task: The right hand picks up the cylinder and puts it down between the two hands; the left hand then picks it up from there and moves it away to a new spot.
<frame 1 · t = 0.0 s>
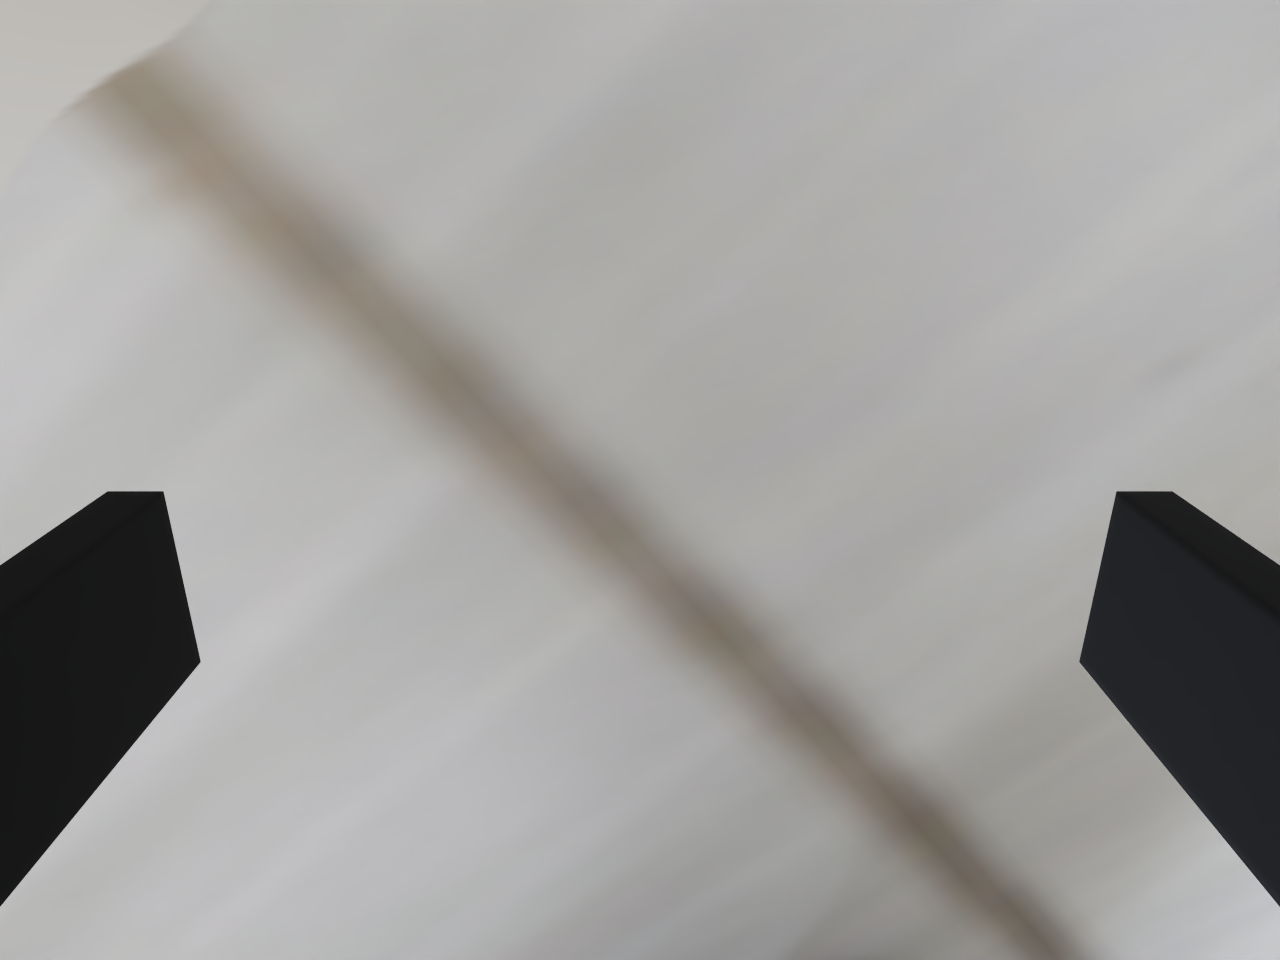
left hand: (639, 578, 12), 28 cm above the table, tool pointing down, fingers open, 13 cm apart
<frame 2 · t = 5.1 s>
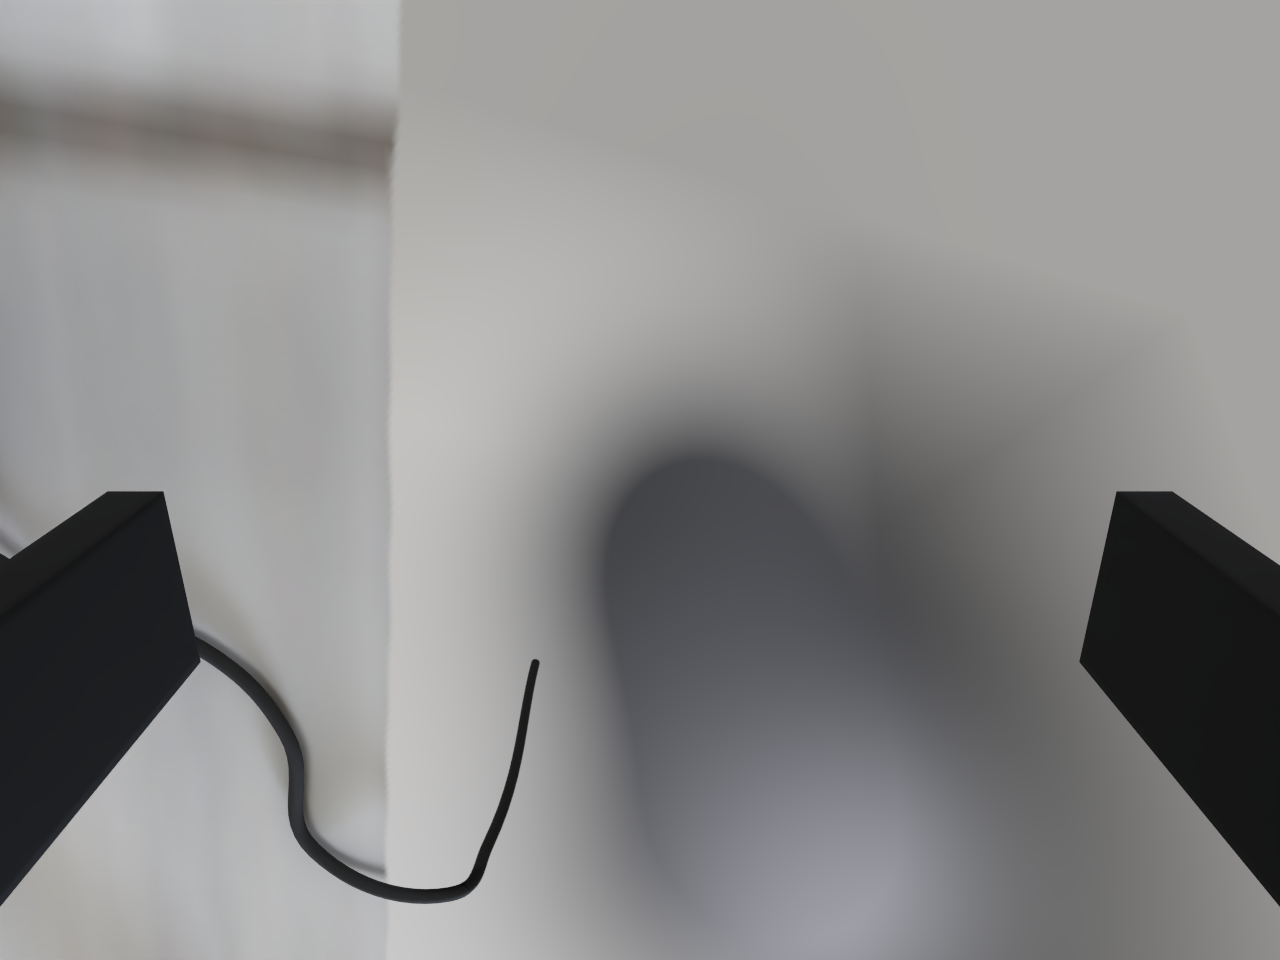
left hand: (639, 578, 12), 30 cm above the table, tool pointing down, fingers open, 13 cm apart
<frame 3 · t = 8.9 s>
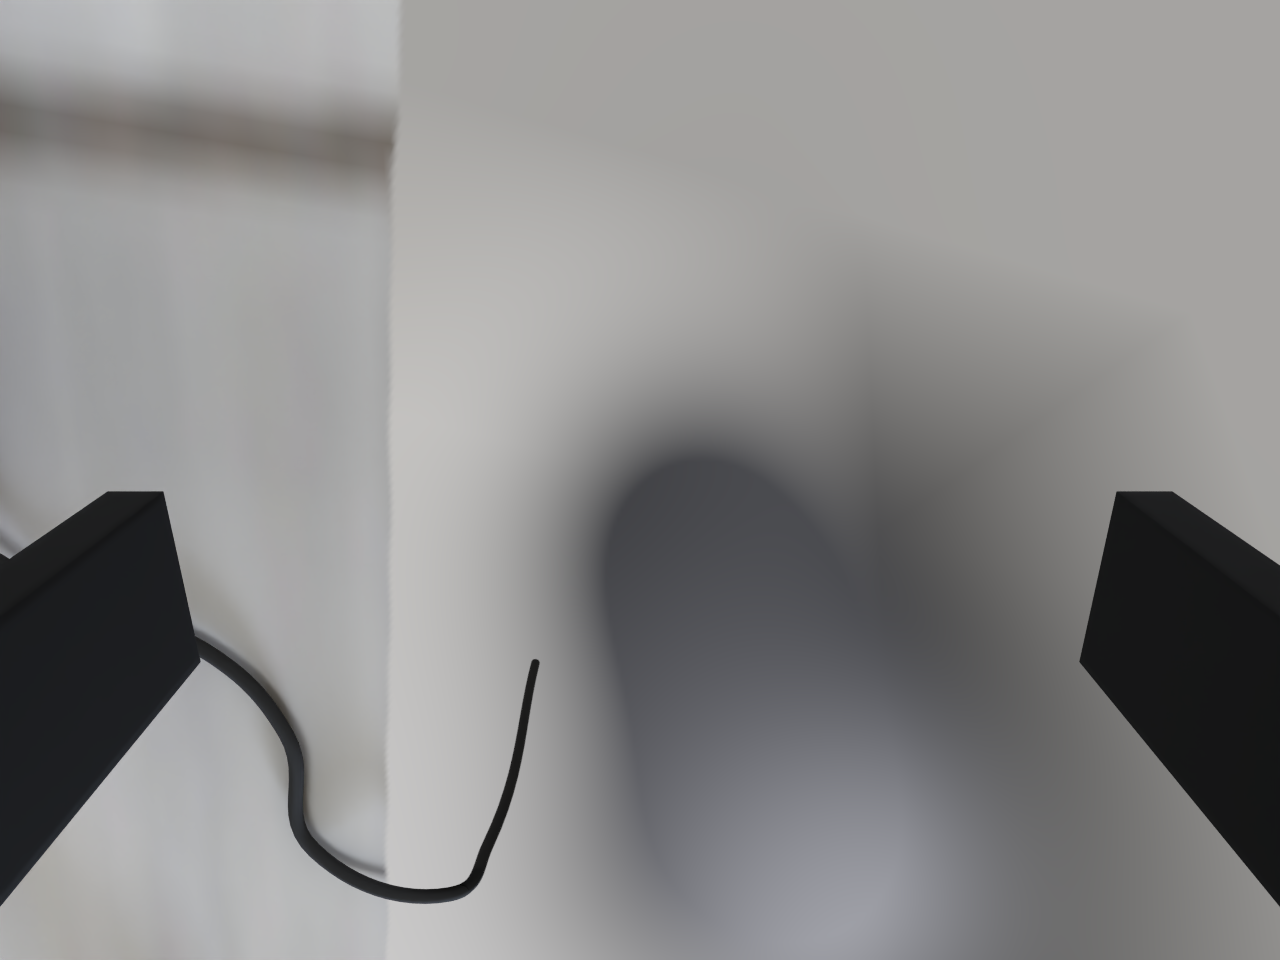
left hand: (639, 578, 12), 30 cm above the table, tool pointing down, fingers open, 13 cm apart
when the right hand's fingers open (7 cm above the table, at t = 12.8 s): cylinder drops 1 cm, on the table.
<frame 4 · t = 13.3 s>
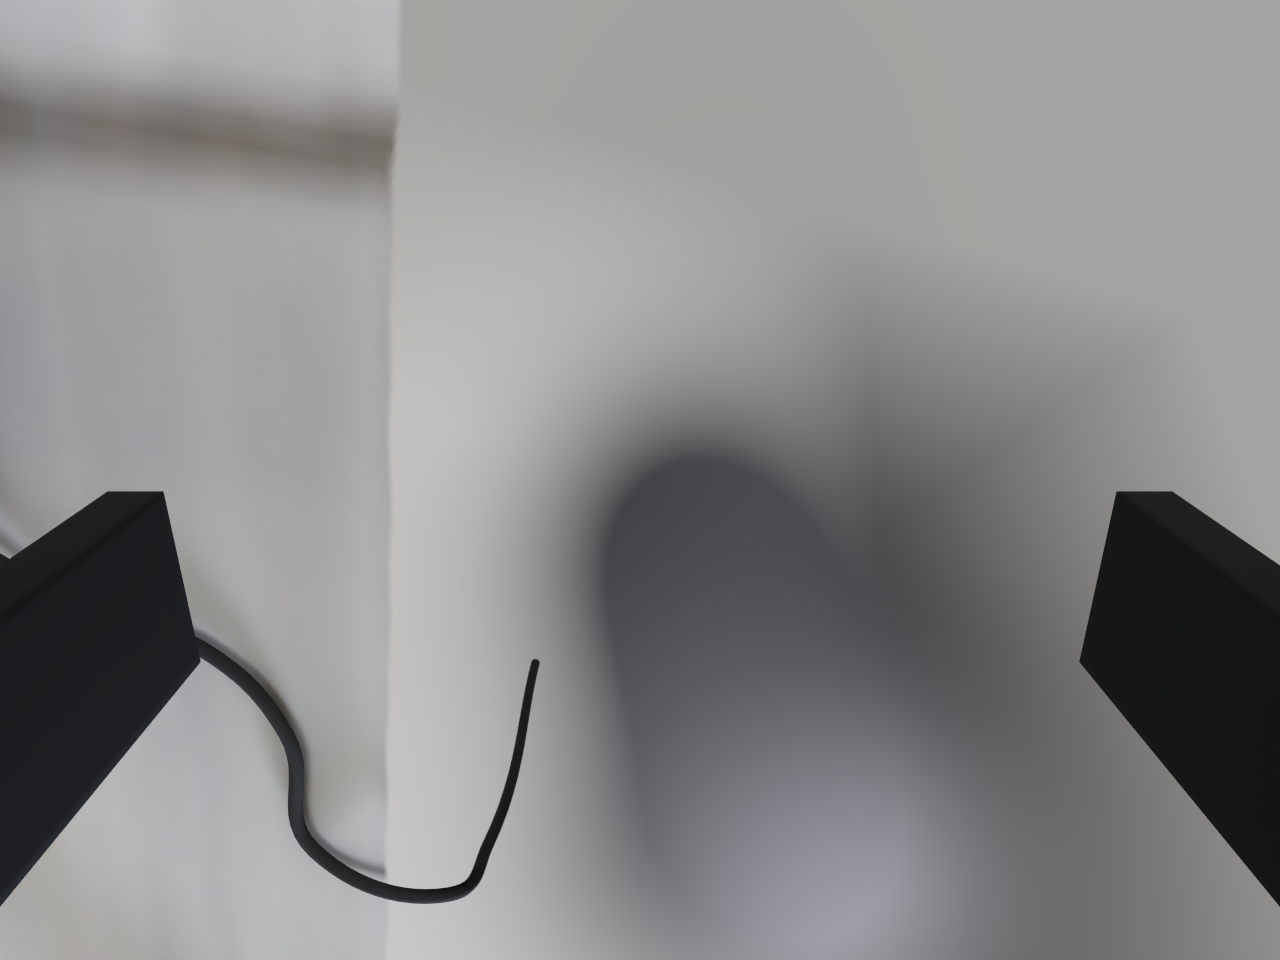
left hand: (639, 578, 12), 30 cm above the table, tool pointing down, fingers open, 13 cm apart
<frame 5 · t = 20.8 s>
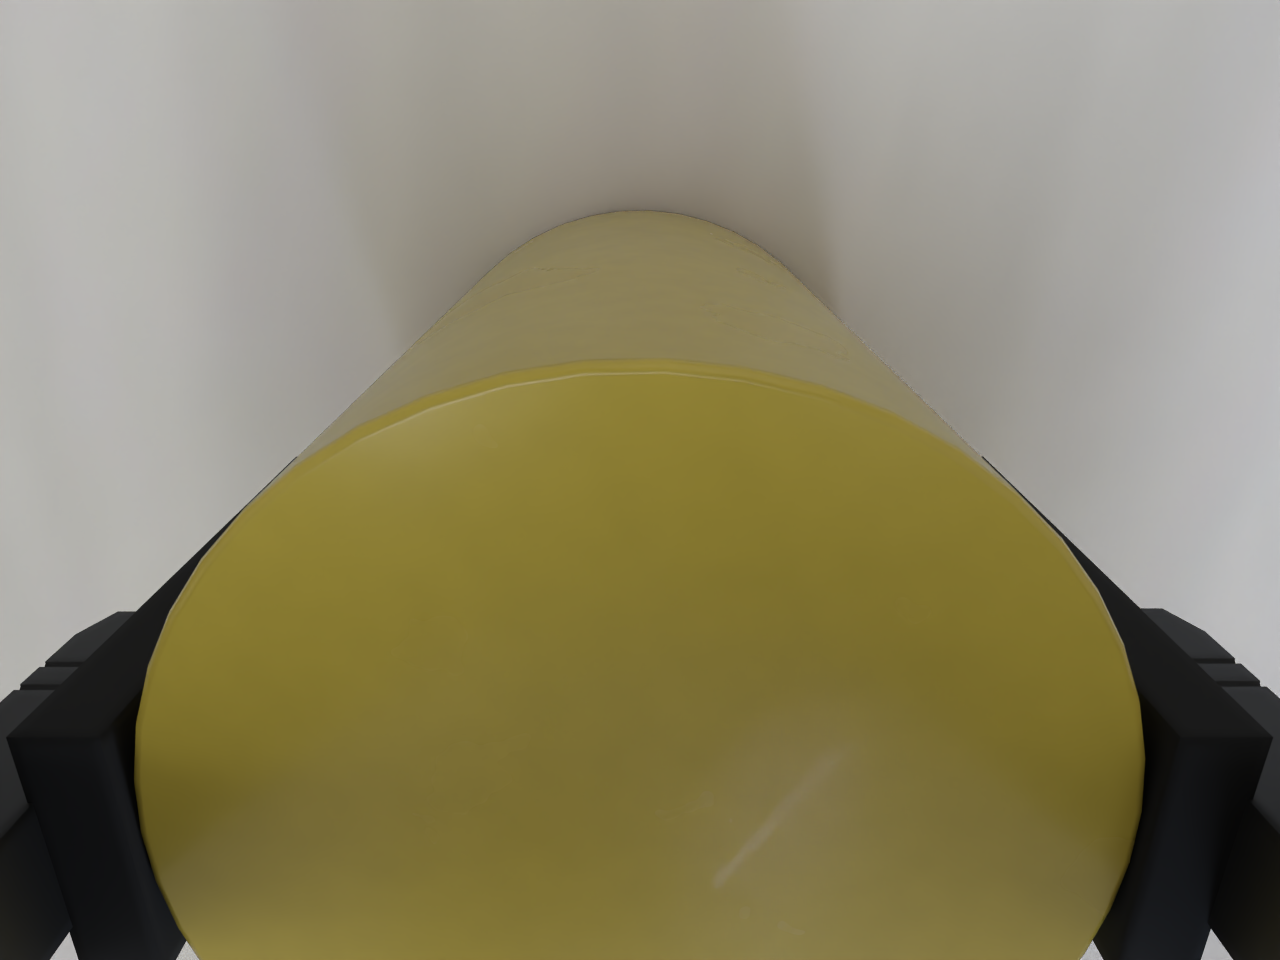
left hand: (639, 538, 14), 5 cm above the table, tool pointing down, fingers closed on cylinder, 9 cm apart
cylinder: (639, 425, 19), on the table, touching left hand
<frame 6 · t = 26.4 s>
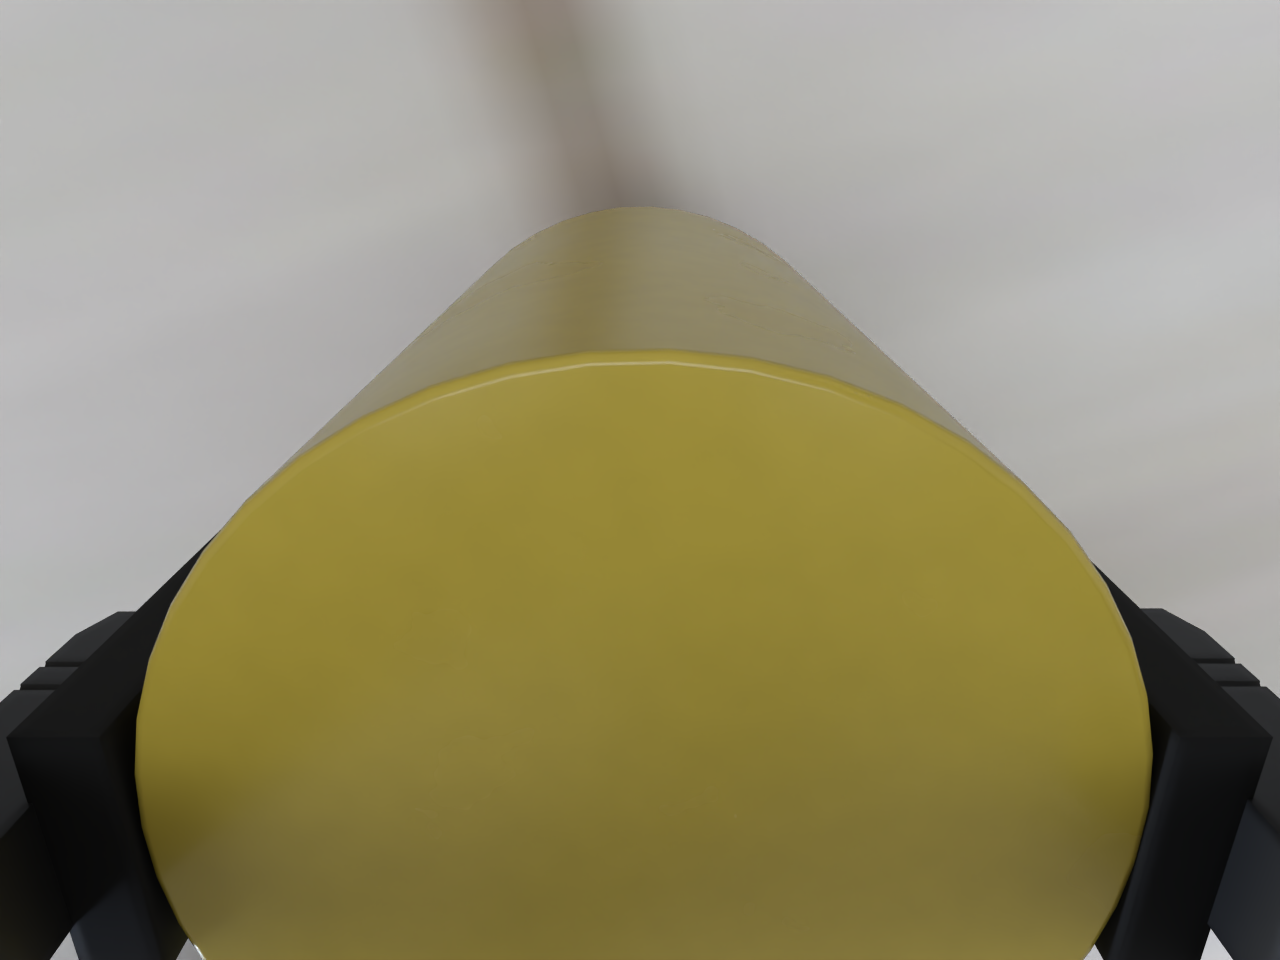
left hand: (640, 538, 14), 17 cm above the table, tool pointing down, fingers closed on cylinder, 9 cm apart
cylinder: (641, 422, 19), point 12 cm above the table, touching left hand
when the left hand's fingers open (7 cm above the table, at t = 31.8 s): cylinder drops 1 cm, on the table.
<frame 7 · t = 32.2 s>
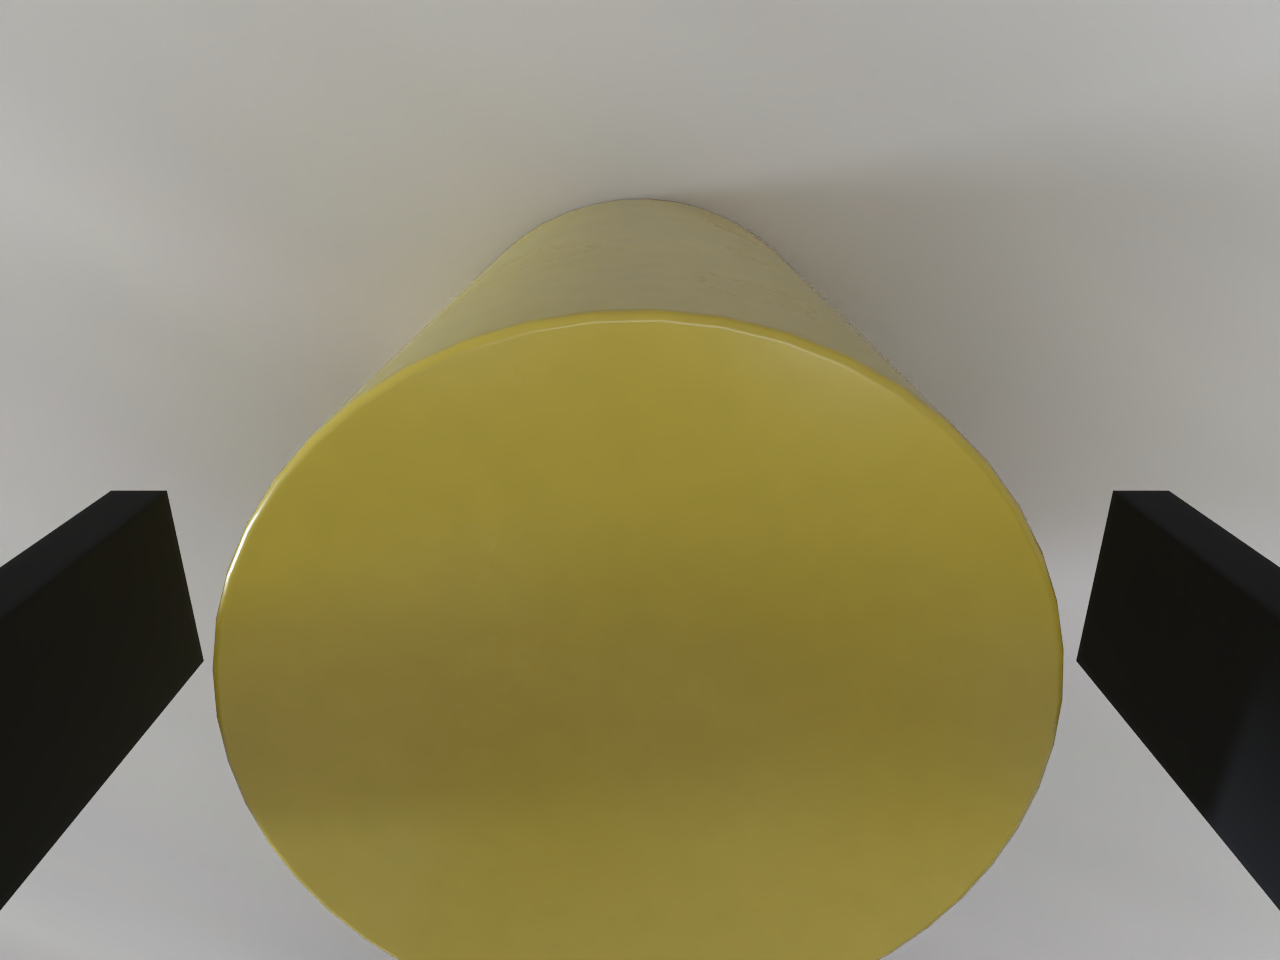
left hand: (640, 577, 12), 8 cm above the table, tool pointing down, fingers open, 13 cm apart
cylinder: (639, 399, 20), on the table
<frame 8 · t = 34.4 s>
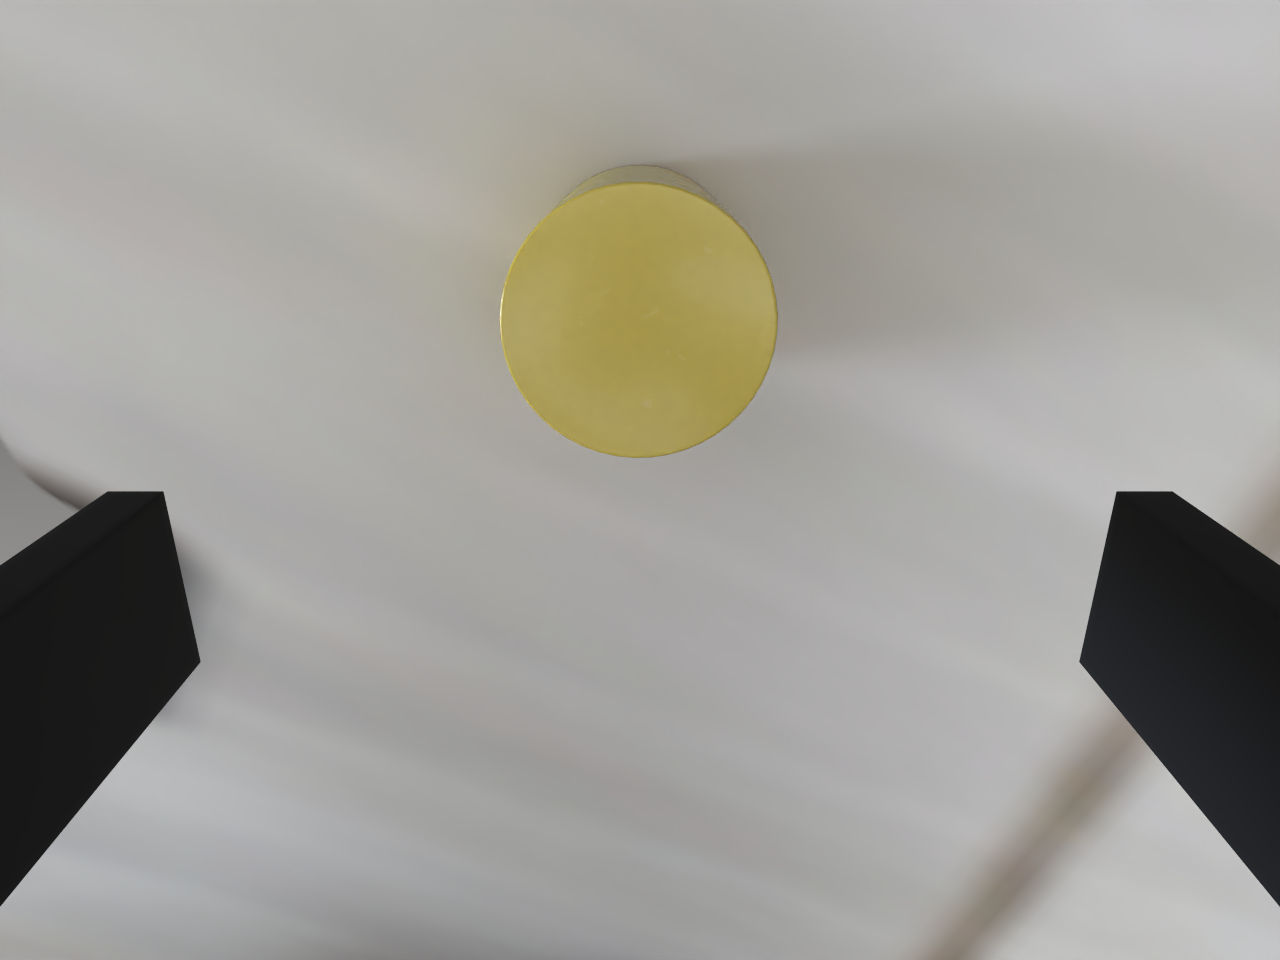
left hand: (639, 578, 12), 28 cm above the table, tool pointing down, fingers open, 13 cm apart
cylinder: (639, 270, 39), on the table
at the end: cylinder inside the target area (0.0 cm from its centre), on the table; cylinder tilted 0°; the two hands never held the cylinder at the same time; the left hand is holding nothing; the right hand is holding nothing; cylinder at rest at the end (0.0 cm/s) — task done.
